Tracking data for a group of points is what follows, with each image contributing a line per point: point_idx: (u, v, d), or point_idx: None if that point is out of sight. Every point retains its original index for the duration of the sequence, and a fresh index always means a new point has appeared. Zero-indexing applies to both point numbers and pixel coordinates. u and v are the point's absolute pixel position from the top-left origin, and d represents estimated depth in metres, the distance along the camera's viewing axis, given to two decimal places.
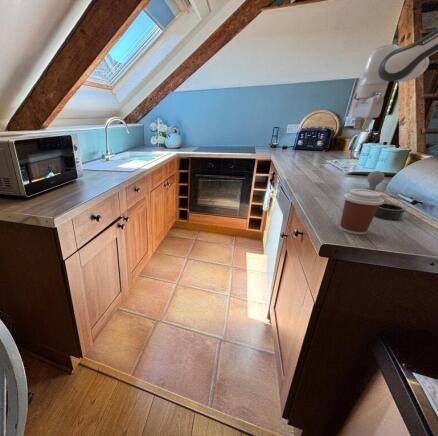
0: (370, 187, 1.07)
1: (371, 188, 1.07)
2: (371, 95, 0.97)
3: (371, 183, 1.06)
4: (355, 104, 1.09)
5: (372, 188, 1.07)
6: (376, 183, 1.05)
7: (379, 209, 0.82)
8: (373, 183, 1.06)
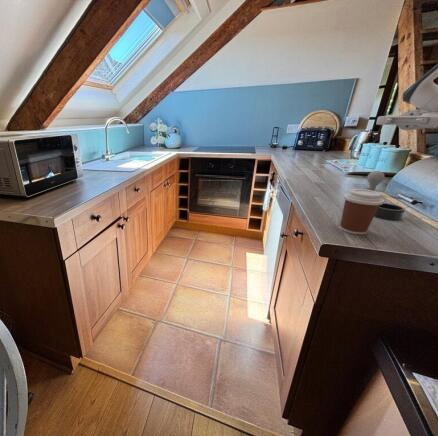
0: (370, 187, 1.07)
1: (371, 188, 1.07)
2: None
3: (371, 183, 1.06)
4: (431, 125, 1.03)
5: (372, 188, 1.07)
6: (376, 183, 1.05)
7: (379, 209, 0.82)
8: (373, 183, 1.06)
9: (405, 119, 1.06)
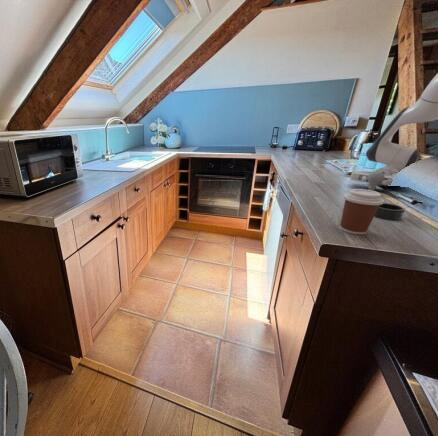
0: (370, 187, 1.07)
1: (371, 188, 1.07)
2: None
3: (371, 183, 1.06)
4: None
5: (372, 188, 1.07)
6: (376, 183, 1.05)
7: (379, 209, 0.82)
8: (373, 184, 1.06)
9: None
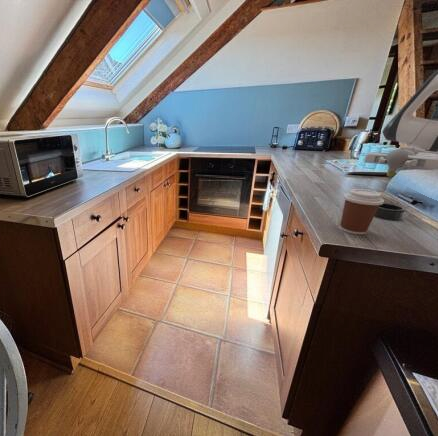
0: (390, 169, 0.87)
1: (391, 171, 0.87)
2: None
3: (391, 165, 0.86)
4: None
5: (392, 171, 0.87)
6: (397, 164, 0.85)
7: (379, 209, 0.82)
8: (393, 165, 0.86)
9: None
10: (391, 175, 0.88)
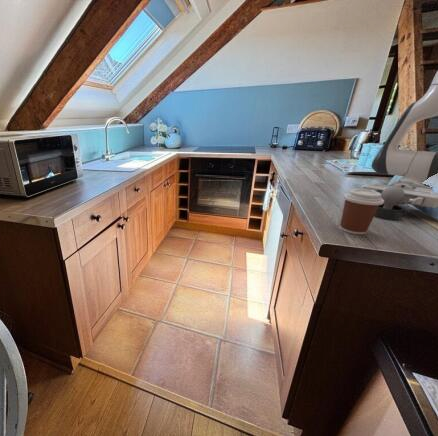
0: (385, 207, 0.83)
1: (386, 208, 0.82)
2: None
3: (386, 202, 0.82)
4: None
5: None
6: (393, 203, 0.80)
7: (379, 209, 0.82)
8: (389, 203, 0.81)
9: None
10: None
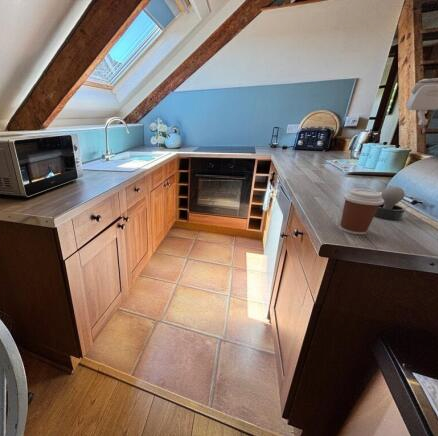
0: (385, 207, 0.83)
1: (386, 208, 0.82)
2: None
3: (386, 202, 0.82)
4: None
5: None
6: (393, 203, 0.80)
7: (379, 209, 0.82)
8: (389, 203, 0.81)
9: None
10: None
